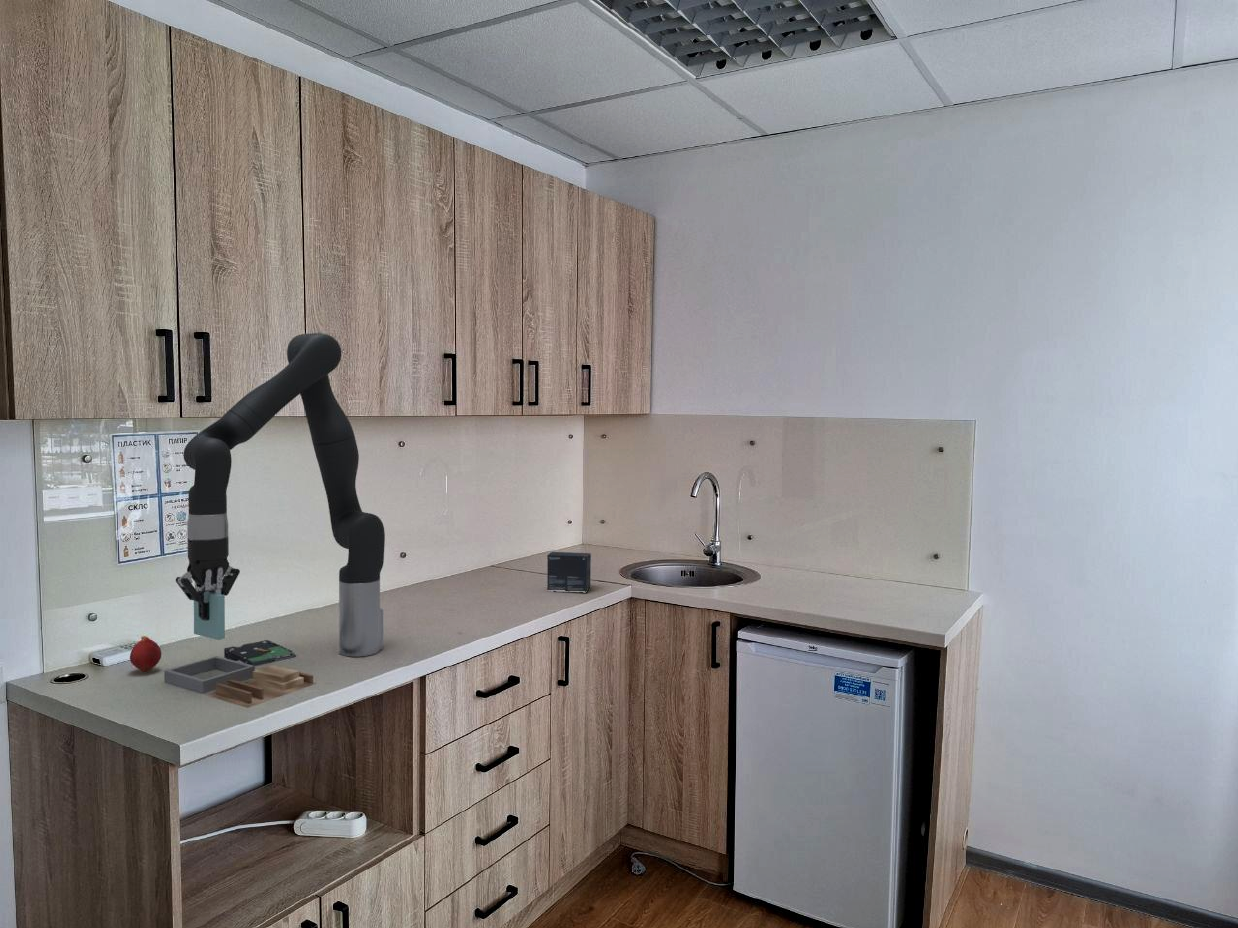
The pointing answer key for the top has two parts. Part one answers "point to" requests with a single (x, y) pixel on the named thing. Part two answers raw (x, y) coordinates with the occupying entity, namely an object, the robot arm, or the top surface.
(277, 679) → the offcut upper
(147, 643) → the onion
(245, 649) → the disk drive
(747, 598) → the top surface
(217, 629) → the teal rectangular slab
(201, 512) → the robot arm
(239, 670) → the tray
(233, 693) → the rack
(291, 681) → the offcut lower
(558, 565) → the small box
